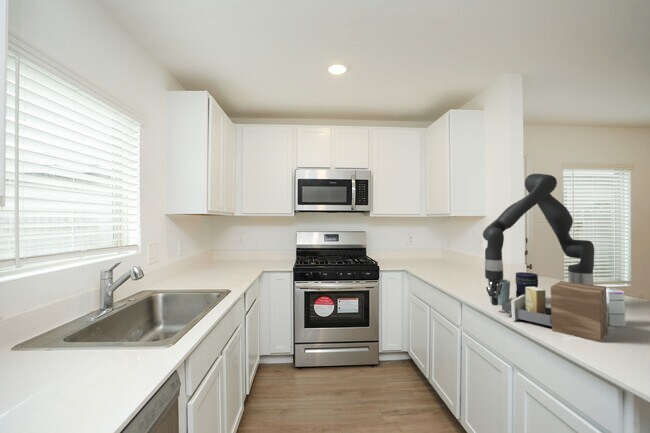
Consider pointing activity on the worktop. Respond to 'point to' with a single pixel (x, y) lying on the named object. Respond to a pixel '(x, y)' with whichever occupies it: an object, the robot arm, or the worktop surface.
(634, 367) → the worktop surface
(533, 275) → the storage jar
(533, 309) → the skincare box
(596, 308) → the wood grain block
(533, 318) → the drawer
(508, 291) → the teal planter pot
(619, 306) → the syrup box
